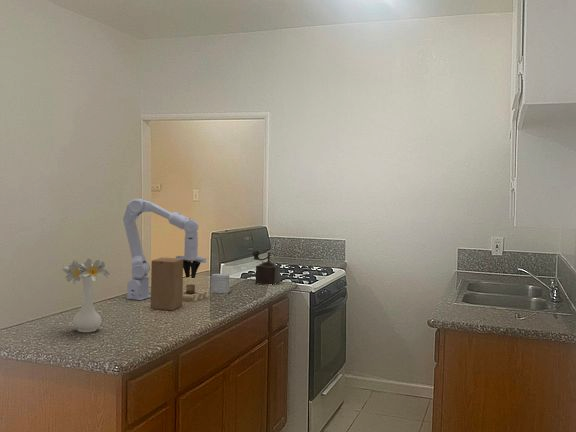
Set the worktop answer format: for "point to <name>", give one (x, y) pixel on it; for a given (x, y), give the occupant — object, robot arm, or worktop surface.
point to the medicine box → (220, 283)
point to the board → (194, 295)
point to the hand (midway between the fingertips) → (190, 277)
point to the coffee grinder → (266, 270)
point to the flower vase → (86, 292)
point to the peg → (190, 289)
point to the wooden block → (166, 283)
